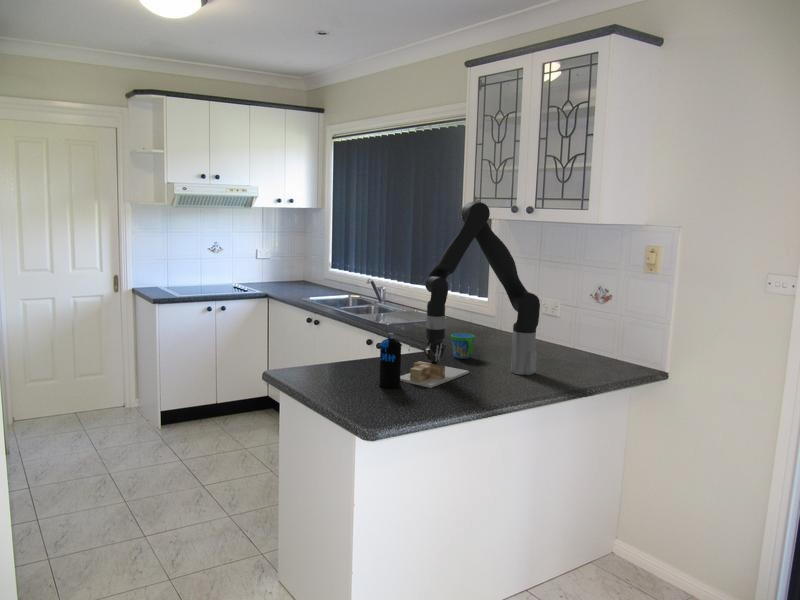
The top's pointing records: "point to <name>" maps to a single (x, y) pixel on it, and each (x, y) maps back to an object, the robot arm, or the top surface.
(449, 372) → the mat
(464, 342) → the snack cup
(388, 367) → the aerosol can
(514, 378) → the top surface
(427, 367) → the t block
